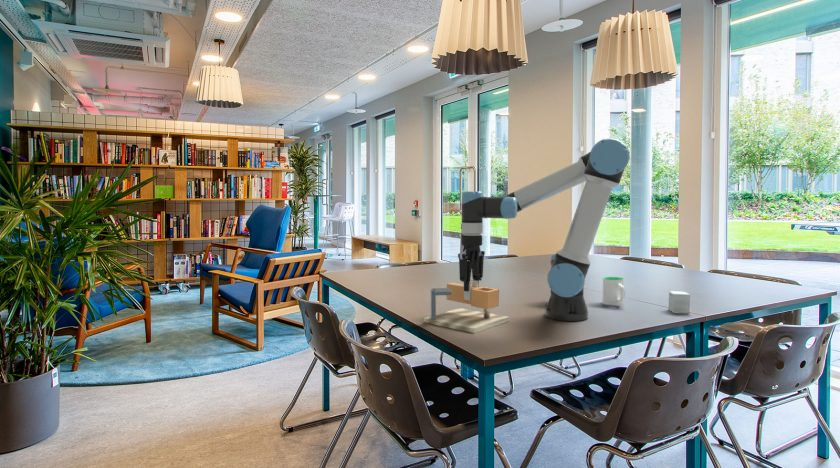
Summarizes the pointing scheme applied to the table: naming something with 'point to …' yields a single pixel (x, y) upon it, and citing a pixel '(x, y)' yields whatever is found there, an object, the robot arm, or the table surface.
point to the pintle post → (486, 313)
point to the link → (475, 296)
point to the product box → (679, 302)
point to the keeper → (433, 299)
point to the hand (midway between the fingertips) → (471, 298)
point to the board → (466, 320)
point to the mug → (613, 291)
